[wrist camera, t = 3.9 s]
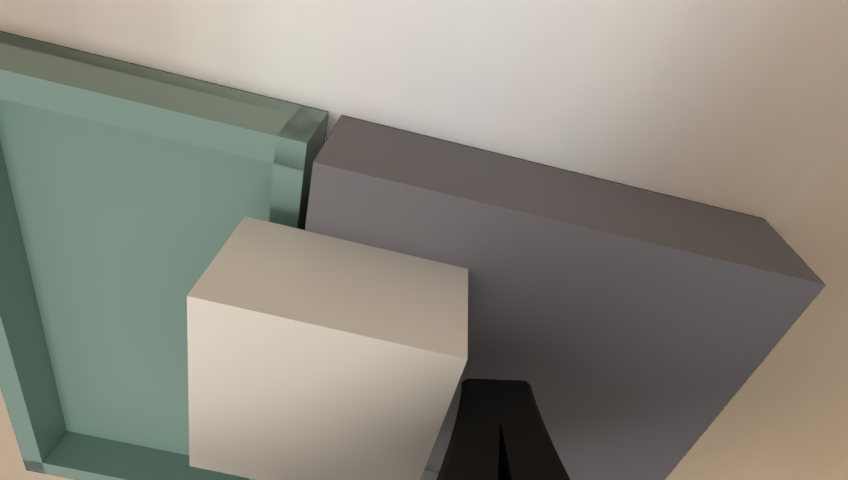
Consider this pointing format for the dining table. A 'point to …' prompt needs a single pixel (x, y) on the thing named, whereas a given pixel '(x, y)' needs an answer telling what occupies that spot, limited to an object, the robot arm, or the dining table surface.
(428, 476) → the sage tile
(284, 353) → the cream tile
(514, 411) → the robot arm
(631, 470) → the charcoal board
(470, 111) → the dining table surface
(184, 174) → the tray
